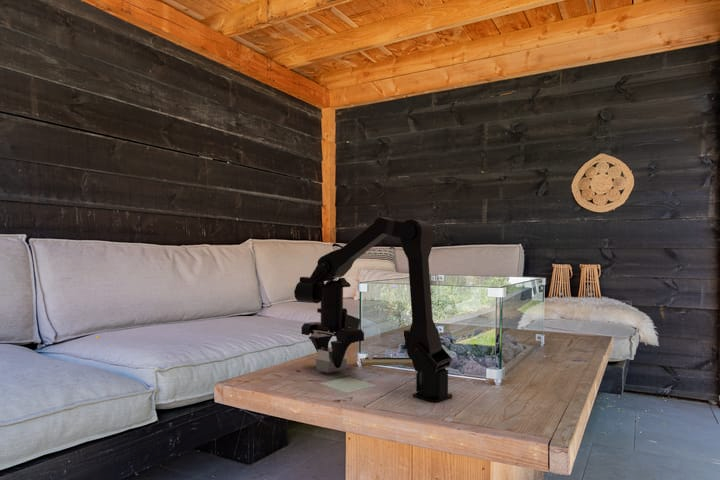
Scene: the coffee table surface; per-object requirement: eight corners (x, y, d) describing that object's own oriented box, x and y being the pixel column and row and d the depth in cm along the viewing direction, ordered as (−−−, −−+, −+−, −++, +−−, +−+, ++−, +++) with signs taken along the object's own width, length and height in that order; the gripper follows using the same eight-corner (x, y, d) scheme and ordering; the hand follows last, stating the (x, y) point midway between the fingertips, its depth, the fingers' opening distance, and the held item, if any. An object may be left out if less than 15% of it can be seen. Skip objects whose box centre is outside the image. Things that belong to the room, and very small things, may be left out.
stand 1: (357, 379, 121) (357, 373, 121) (330, 385, 115) (330, 379, 115) (332, 372, 128) (332, 366, 128) (305, 377, 122) (305, 371, 122)
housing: (346, 368, 122) (346, 347, 122) (328, 372, 118) (328, 350, 118) (334, 365, 125) (334, 344, 126) (315, 369, 121) (316, 347, 121)
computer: (413, 365, 139) (413, 353, 139) (418, 372, 131) (418, 360, 131) (359, 365, 138) (359, 354, 138) (361, 372, 130) (361, 360, 130)
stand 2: (377, 391, 110) (377, 385, 110) (347, 399, 104) (347, 392, 104) (348, 383, 117) (348, 376, 117) (319, 389, 111) (319, 383, 111)
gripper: (379, 305, 121) (379, 367, 120) (332, 300, 134) (332, 355, 134) (346, 308, 113) (346, 374, 113) (300, 302, 127) (299, 361, 126)
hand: (331, 365), depth 122 cm, fingers closed on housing, 5 cm apart
